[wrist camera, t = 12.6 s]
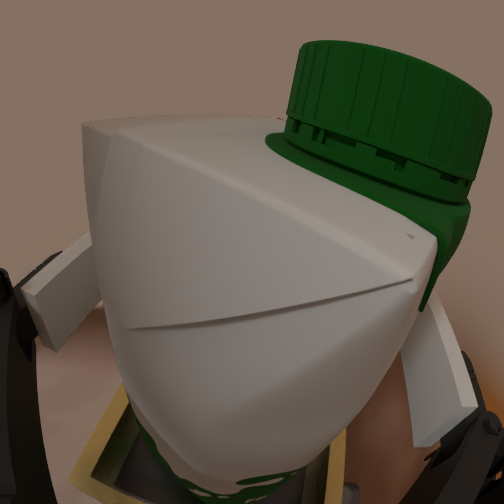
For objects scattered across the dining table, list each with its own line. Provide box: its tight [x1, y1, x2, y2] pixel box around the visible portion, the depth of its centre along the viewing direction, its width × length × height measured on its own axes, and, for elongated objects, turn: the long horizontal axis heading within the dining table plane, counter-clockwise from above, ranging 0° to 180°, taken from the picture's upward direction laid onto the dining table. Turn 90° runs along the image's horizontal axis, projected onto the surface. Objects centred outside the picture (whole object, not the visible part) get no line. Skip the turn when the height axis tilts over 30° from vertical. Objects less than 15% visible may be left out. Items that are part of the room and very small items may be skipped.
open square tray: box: [67, 382, 359, 504], centre depth 17 cm, size 17×14×8 cm
